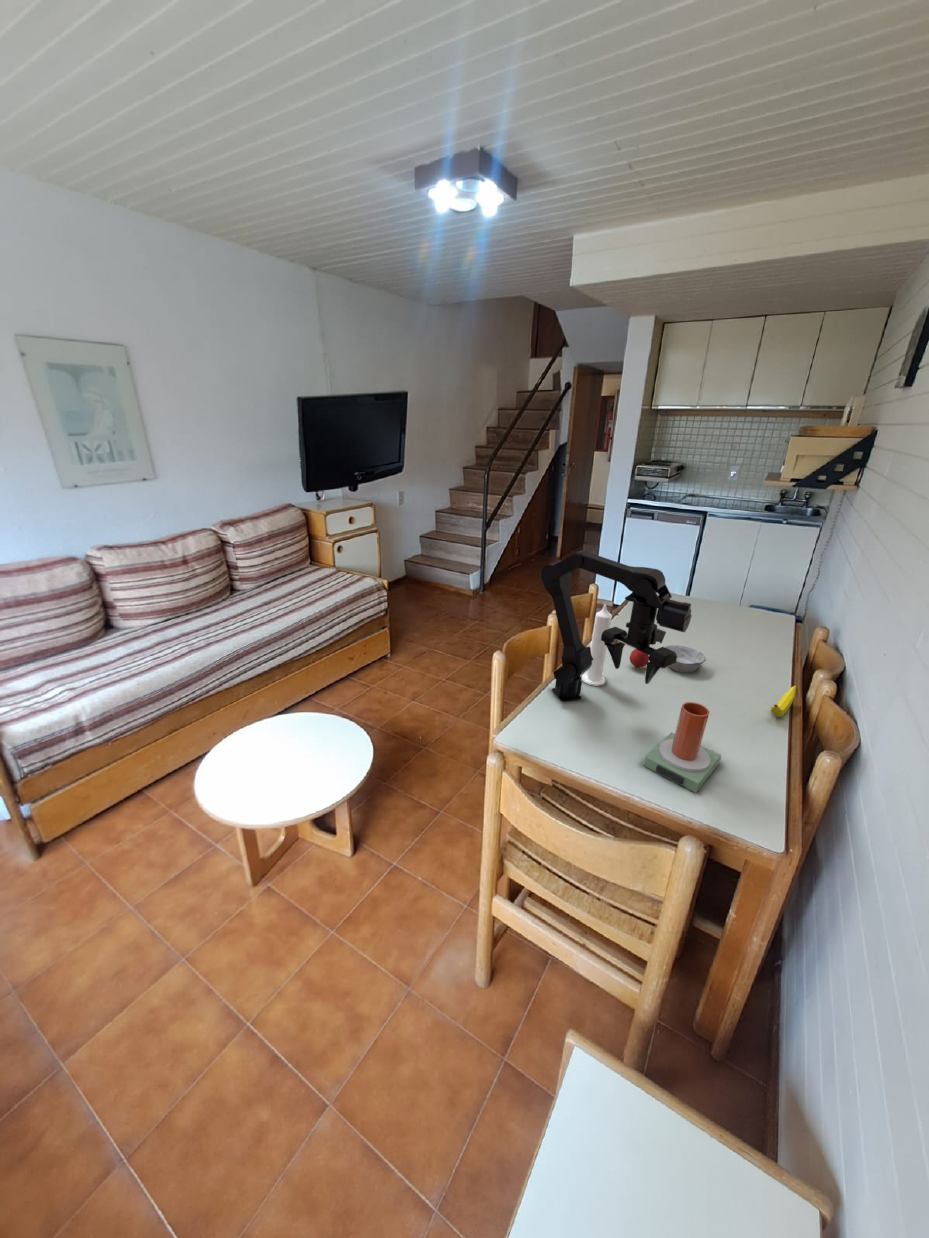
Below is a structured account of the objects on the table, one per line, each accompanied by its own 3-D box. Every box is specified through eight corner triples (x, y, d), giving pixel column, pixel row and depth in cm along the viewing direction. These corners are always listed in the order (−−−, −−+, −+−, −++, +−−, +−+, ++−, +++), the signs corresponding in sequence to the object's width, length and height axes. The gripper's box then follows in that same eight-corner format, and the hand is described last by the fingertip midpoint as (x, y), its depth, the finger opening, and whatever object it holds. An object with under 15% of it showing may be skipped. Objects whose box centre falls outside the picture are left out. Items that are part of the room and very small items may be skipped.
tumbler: (668, 754, 113) (679, 710, 108) (674, 742, 117) (684, 699, 113) (694, 764, 110) (707, 719, 106) (699, 751, 115) (711, 707, 110)
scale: (694, 793, 106) (698, 781, 105) (642, 766, 114) (645, 755, 113) (719, 763, 116) (722, 752, 115) (669, 740, 123) (672, 729, 122)
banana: (795, 702, 142) (802, 683, 140) (775, 727, 130) (782, 707, 128) (784, 698, 144) (791, 679, 142) (763, 723, 132) (770, 702, 130)
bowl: (676, 654, 169) (679, 641, 167) (710, 670, 159) (714, 657, 157) (651, 662, 162) (654, 649, 160) (685, 680, 152) (689, 666, 150)
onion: (644, 664, 161) (648, 642, 158) (648, 673, 155) (653, 650, 152) (626, 663, 161) (630, 641, 158) (629, 671, 156) (634, 649, 153)
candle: (592, 688, 146) (604, 610, 136) (576, 677, 151) (587, 601, 142) (610, 683, 149) (623, 606, 139) (594, 672, 154) (606, 598, 145)
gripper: (695, 626, 118) (682, 682, 124) (630, 602, 132) (621, 654, 138) (669, 636, 112) (656, 695, 118) (603, 610, 126) (595, 664, 132)
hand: (631, 675), depth 127 cm, fingers open, 9 cm apart
